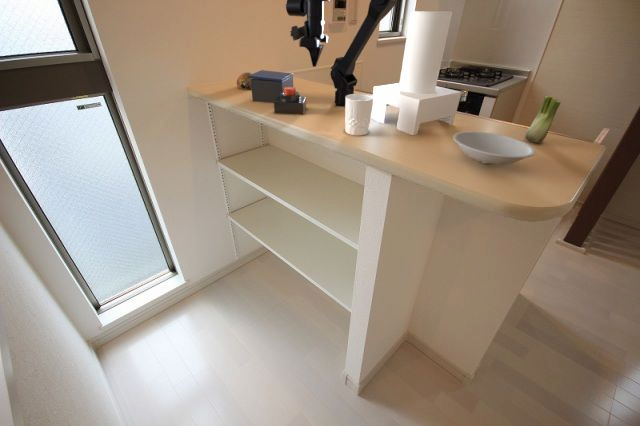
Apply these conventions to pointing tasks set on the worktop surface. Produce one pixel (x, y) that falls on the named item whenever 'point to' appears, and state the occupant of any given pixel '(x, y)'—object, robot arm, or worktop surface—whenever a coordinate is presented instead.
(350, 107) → the white cup
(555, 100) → the fennel bulb
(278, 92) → the dark grey housing
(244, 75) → the bread roll
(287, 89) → the button
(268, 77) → the lid
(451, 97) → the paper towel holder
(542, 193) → the worktop surface
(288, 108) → the red push button box
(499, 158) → the dish
